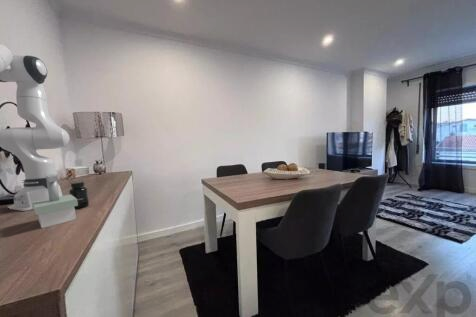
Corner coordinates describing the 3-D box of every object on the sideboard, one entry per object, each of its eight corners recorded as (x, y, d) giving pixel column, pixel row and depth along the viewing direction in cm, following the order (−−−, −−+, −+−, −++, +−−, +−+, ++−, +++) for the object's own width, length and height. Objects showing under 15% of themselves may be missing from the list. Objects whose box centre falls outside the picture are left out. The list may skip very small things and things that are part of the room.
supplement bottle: (79, 209, 93) (75, 184, 91) (67, 209, 94) (63, 184, 93) (92, 204, 99) (89, 180, 98) (81, 204, 101) (78, 180, 99)
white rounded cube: (38, 221, 80) (36, 204, 80) (70, 213, 88) (68, 198, 87) (41, 228, 74) (38, 209, 73) (76, 219, 81) (73, 202, 81)
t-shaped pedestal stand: (32, 208, 80) (28, 176, 78) (71, 200, 89) (67, 171, 87) (35, 215, 72) (30, 179, 71) (77, 205, 81) (73, 174, 79)
